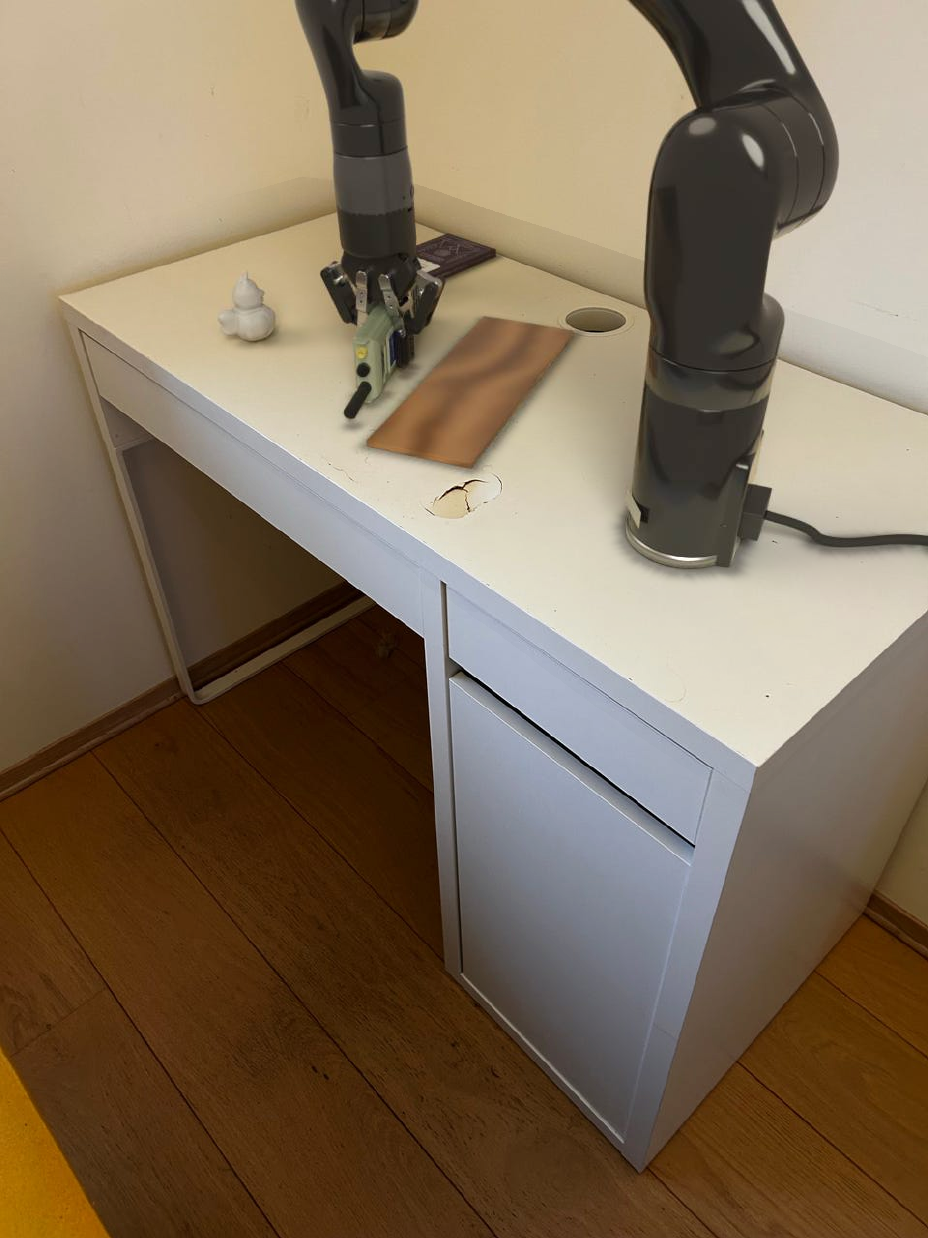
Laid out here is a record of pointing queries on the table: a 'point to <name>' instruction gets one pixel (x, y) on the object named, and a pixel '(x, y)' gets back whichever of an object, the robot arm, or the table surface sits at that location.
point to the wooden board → (471, 392)
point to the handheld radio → (374, 355)
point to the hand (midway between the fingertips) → (389, 362)
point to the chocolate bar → (451, 255)
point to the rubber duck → (247, 312)
